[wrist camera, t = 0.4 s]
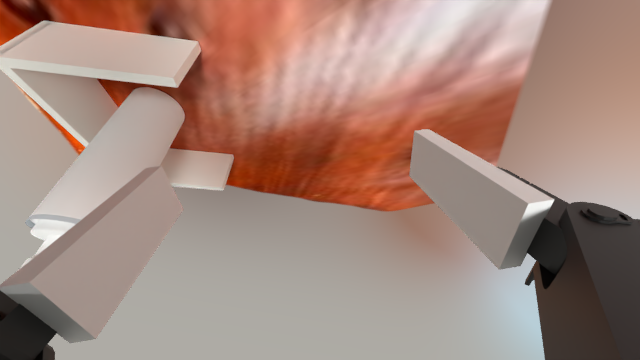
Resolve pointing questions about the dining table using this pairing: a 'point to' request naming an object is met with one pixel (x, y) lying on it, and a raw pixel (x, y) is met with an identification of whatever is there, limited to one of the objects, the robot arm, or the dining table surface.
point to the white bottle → (109, 162)
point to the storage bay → (89, 95)
